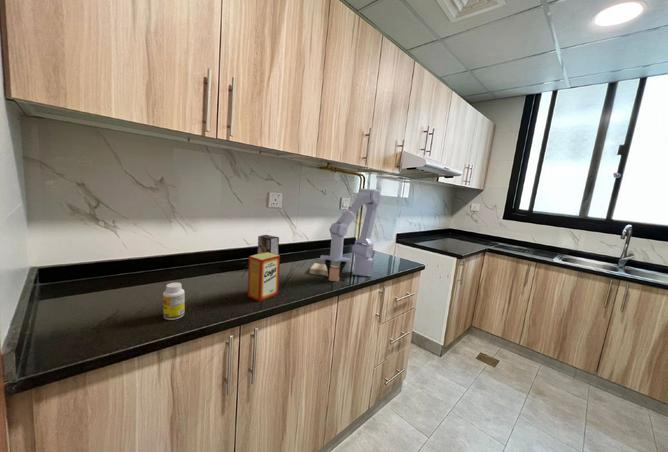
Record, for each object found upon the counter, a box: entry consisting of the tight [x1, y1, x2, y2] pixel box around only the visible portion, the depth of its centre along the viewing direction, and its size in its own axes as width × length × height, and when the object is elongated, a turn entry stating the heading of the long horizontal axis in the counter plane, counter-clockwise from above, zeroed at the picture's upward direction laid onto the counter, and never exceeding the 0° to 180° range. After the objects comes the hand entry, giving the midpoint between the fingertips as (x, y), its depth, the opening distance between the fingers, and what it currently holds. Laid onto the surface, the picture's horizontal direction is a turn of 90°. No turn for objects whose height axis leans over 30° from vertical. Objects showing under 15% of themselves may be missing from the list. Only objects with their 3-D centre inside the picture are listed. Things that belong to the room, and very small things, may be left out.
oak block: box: [309, 262, 334, 277], centre depth 133 cm, size 10×10×3 cm
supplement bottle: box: [162, 282, 186, 321], centre depth 79 cm, size 6×6×10 cm
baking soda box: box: [247, 252, 281, 302], centre depth 98 cm, size 10×6×16 cm
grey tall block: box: [257, 234, 280, 255], centre depth 132 cm, size 9×6×16 cm
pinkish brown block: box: [328, 264, 341, 282], centre depth 122 cm, size 4×4×6 cm
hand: (334, 276), depth 123 cm, fingers closed on pinkish brown block, 4 cm apart
